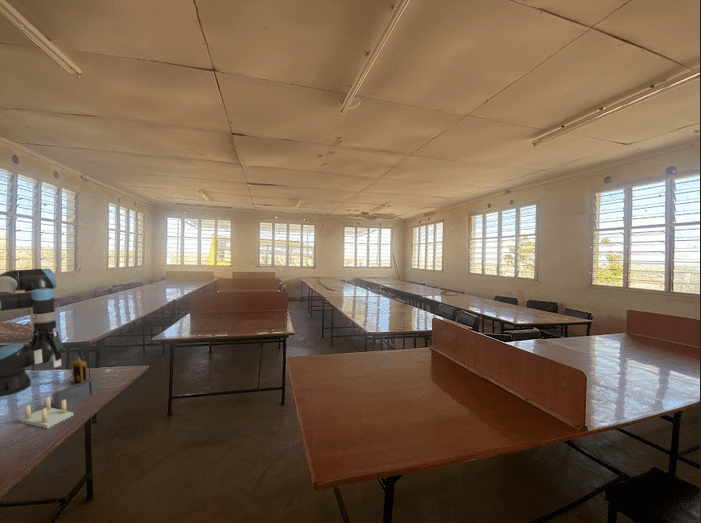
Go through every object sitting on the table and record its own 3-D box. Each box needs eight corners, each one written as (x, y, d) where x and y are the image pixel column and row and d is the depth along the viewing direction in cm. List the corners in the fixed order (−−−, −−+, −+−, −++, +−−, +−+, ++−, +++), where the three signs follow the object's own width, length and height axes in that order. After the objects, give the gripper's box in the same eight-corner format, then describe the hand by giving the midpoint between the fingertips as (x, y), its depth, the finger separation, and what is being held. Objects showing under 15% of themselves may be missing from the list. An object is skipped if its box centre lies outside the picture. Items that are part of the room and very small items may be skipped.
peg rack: (19, 422, 136) (18, 406, 136) (46, 409, 146) (45, 394, 145) (47, 428, 132) (46, 412, 132) (73, 415, 142) (72, 400, 141)
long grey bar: (60, 409, 147) (59, 395, 146) (52, 407, 148) (51, 393, 147) (97, 392, 163) (97, 379, 162) (90, 390, 164) (89, 377, 164)
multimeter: (106, 379, 177) (104, 345, 175) (86, 387, 167) (84, 352, 166) (89, 375, 182) (87, 342, 180) (69, 383, 172) (66, 348, 171)
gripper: (17, 321, 147) (21, 364, 148) (52, 325, 139) (55, 370, 141) (37, 317, 154) (40, 359, 155) (71, 321, 146) (74, 364, 148)
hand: (47, 364), depth 148 cm, fingers open, 13 cm apart
